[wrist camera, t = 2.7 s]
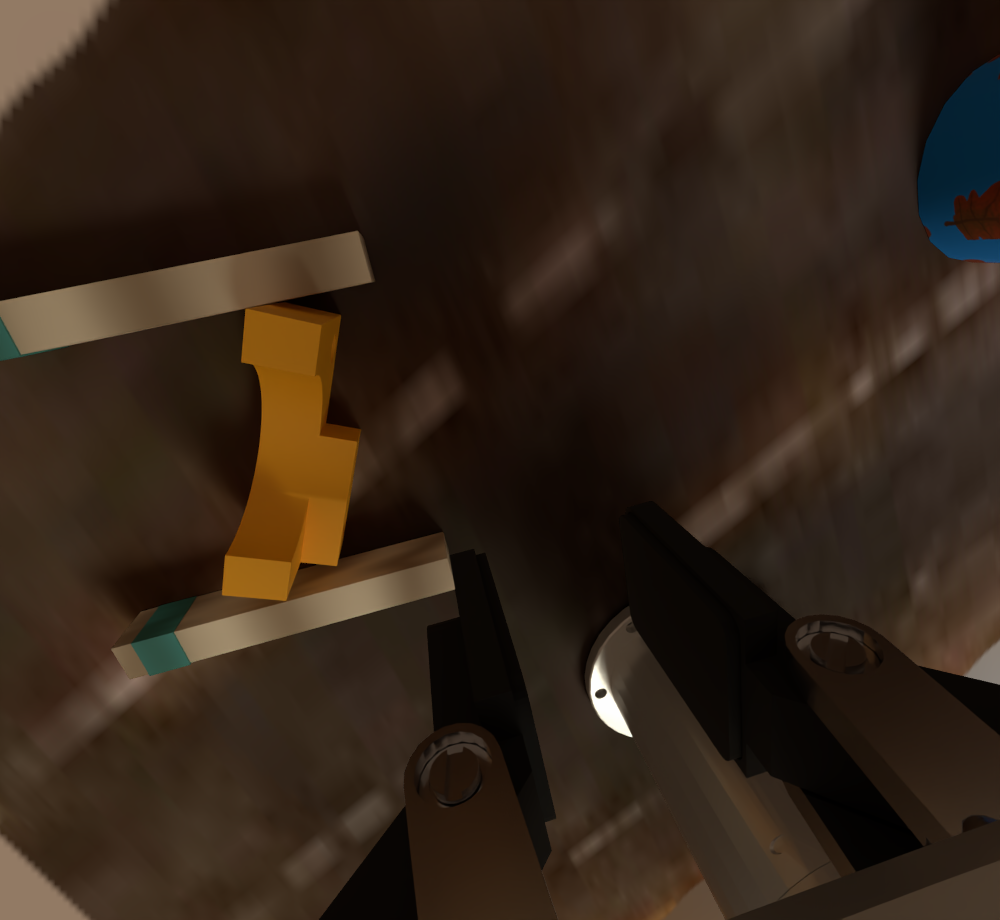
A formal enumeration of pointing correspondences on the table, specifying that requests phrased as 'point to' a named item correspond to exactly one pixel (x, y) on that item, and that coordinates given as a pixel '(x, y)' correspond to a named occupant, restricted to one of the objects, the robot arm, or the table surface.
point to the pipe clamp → (292, 454)
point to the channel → (197, 294)
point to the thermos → (965, 171)
